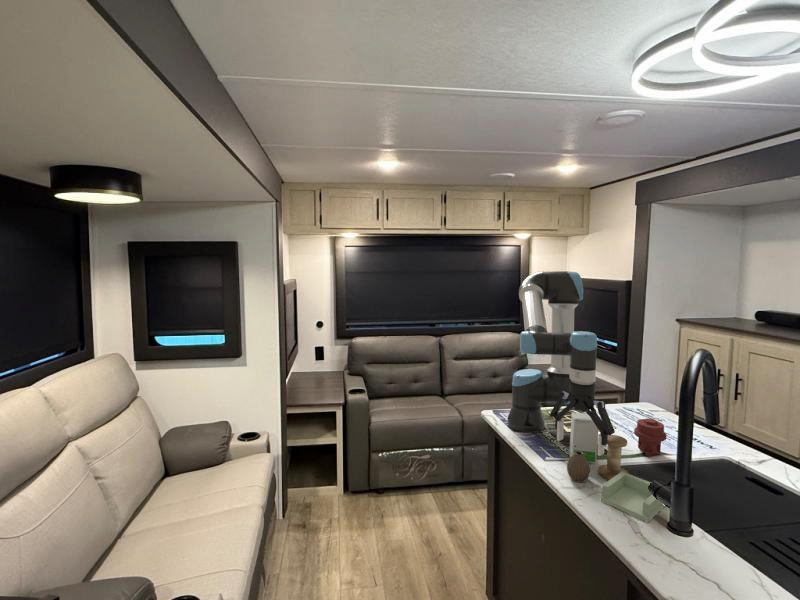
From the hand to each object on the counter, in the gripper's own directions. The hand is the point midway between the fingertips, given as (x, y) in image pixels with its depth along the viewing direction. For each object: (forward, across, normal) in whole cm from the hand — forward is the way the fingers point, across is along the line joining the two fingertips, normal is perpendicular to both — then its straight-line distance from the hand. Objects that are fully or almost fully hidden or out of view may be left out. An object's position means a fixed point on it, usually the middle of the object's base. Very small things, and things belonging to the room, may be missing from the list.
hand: (579, 446), depth 136 cm
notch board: (+11, +17, 0) cm, 20 cm away
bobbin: (+11, +6, +11) cm, 17 cm away
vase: (+11, 0, 0) cm, 11 cm away
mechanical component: (+11, +7, +36) cm, 39 cm away
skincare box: (+11, -6, +14) cm, 19 cm away
